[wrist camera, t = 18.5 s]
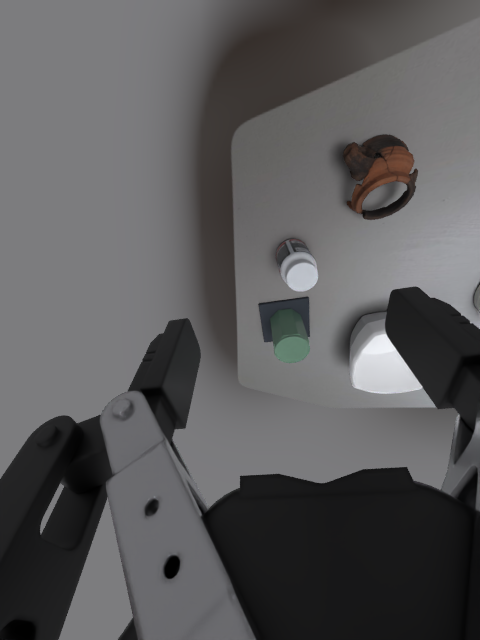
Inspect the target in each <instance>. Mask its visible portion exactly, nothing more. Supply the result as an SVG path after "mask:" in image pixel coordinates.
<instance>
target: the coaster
mask: <svg viewBox="0 0 480 640" xmlns="http://www.w3.org/2000/svg"><path fill="white" fill-rule="evenodd" d="M284 309H292V310H294V311H296V312H297V313H299V314H300V315H301V318H302V321H303V324H304V327H305V330H306V333H307V336H308V337H310V331H309V297H303V298H296V299H289V300H282V301H274V302H267V303H260V304H259V310H260V316H261V323H262V329H263V336H264V342H271V341H273V338H272V331H271V324H270V318H271V317H272V316H273V315H274V314H275V313H276V312H277V311H278V310H284Z"/></svg>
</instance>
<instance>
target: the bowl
mask: <svg viewBox="0 0 480 640" xmlns="http://www.w3.org/2000/svg"><path fill="white" fill-rule="evenodd" d="M386 314H387V312H378V313H372V314H368V315H364V316H362V317H361V318H360V320H359V321H358V323H357V324H356V326H355V328H354V330H353V331H352V333H351V338H350V357H349V375H350V379H351V384H352V385H353V387H355V388H357V389H360V390H364V391H367V392H373V393H382V394H390V393H403V392H408V391H413V390H418V389H421V388H423V387H422V386H421V384H420V383H419V381H418V380H417V378H416V377H415V376H414V374H413V373H412V371H411V370H410V368H409V367H408V366H407V364H406V363H405V361H404V360H403V358H402V357H401V356H400V354H399V353H398V351H397V350H396V348H395V347H394V346H393V344H392V343H391V341H390V340H389V338H388V337H387V334H386V331H385V320H386Z"/></svg>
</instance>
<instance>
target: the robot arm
mask: <svg viewBox="0 0 480 640" xmlns="http://www.w3.org/2000/svg"><path fill="white" fill-rule="evenodd" d="M385 331H386V334H387V337H388V338H389V340H390V341H391V343H392V344H393V346H394V347H395V348H396V350H397V351H398V353H399V354H400V356H401V357H402V358H403V360H404V361H405V363H406V364H407V366H408V367H409V368H410V370H411V371H412V373H413V374H414V376H415V377H416V378H417V380H418V381H419V383H420V384H421V386H422V387H423V388H424V390H425V391H426V393H427V394H428V396H429V397H430V398H431V400H432V401H433V403H434V404H435V406H436V407H437V408H438V409H445V408H455V409H456V410H457V412H458V413H459V414H458V416H457V418H456V422H455V428H454V434H453V440H452V446H451V453H450V459H449V464H448V470H447V473H446V477H445V479H444V482H443V484H442V488H441V490H439V489H437V488H434V487H432V486H429V485H426V484H423V483H420V482H417V481H413V479H412V477H411V475H410V473H409V471H408V469H407V467H400V468H381V469H363V470H361V471H358V472H355V473H352V474H350V475H347V476H344V477H341V478H339V479H335V480H333V481H330V482H327V483H315V482H311V481H307V480H303V479H298V478H294V477H290V476H285V475H281V474H270V475H250V476H240V488H238V489H236V490H234V491H232V492H230V493H228V494H226V495H224V496H223V497H222V498H220V499H219V500H218V501H216V502H215V503H214V504H213V505H212V506H211V507H210V508H209V506H208V505H207V503H206V501H205V499H204V497H203V496H202V494H201V492H200V490H199V489H198V487H197V485H196V483H195V482H194V480H193V478H192V476H191V474H190V472H189V470H188V468H187V466H186V464H185V462H184V460H183V458H182V456H181V454H180V453H179V450H178V449H177V447H176V445H175V443H174V441H173V439H172V437H173V433H174V429H183V428H186V423H187V418H188V414H189V409H190V404H191V399H192V395H193V391H194V386H195V381H196V377H197V372H198V368H199V363H200V358H201V353H200V347H199V344H198V341H197V338H196V336H195V333H194V330H193V328H192V325H191V323H190V321H189V319H187V318H186V319H179V320H172V321H169V322H168V325H167V327H166V329H165V332H164V333H163V334H159V335H158V336H157V337H156V338H155V339H154V340H153V341H152V342H151V343H150V345H149V347H148V350H147V352H146V354H145V356H144V358H143V362H141V364H140V366H139V369H138V371H137V373H136V375H135V377H134V379H133V381H132V383H131V385H130V387H129V390H128V392H125V393H122V394H120V395H118V396H117V397H115V398H114V399H113V400H111V402H109V403H108V405H107V406H106V407H105V408H104V410H103V411H102V414H101V415H99V416H96V417H94V418H91V419H88V420H85V421H83V422H80V423H76V422H75V421H74V420H73V419H72V418H71V417H69V416H58V417H55V418H53V419H51V420H49V421H47V422H45V423H44V424H43V425H41V426H40V427H39V428H37V429H36V430H35V431H34V432H33V433H32V434H31V436H30V437H29V438H28V439H27V441H26V442H25V444H24V445H23V447H22V448H21V450H20V451H19V452H18V454H17V455H16V457H15V458H14V460H13V461H12V463H11V464H10V466H9V467H8V469H7V470H6V472H5V473H4V474H3V476H2V478H1V479H0V640H58V639H59V636H60V633H61V631H62V628H63V625H64V621H65V619H66V616H67V613H68V610H69V607H70V605H71V601H72V598H73V596H74V593H75V590H76V587H77V584H78V581H79V578H80V576H81V573H82V570H83V567H84V564H85V561H86V558H87V555H88V552H89V550H90V547H91V544H92V541H93V538H94V535H95V532H96V529H97V526H98V523H99V521H100V518H101V514H102V512H103V509H104V506H105V503H106V500H107V497H108V500H109V505H110V510H111V514H112V519H113V524H114V529H115V533H116V538H117V543H118V547H119V552H120V557H121V562H122V566H123V571H124V576H125V580H126V585H127V590H128V595H129V599H130V604H131V609H132V614H133V618H132V620H131V621H130V623H129V624H128V626H127V627H126V629H125V630H124V632H123V633H122V635H121V636H120V637H119V639H118V640H480V329H479V328H477V327H476V326H475V325H474V324H473V323H471V324H470V321H469V320H468V319H467V318H465V317H464V316H461V313H459V312H458V311H457V310H456V309H454V308H453V307H452V306H451V305H450V304H447V303H445V302H443V301H441V300H438V299H436V298H430V297H429V296H428V295H427V294H425V293H424V292H423V291H422V290H421V289H420V288H418V287H409V288H402V289H395V290H393V291H392V292H391V294H390V298H389V304H388V309H387V314H386V320H385ZM60 483H61V484H62V485H64V488H63V490H62V493H61V495H60V497H59V499H58V501H57V503H56V505H55V507H54V509H53V511H52V513H51V515H50V518H49V520H48V522H47V524H46V526H45V528H44V530H43V532H42V534H41V535H40V525H41V521H42V518H43V516H44V514H45V512H46V510H47V508H48V506H49V504H50V502H51V500H52V498H53V496H54V494H55V492H56V490H57V488H58V486H59V484H60Z"/></svg>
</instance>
